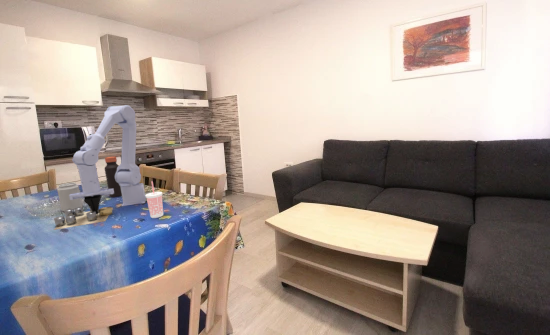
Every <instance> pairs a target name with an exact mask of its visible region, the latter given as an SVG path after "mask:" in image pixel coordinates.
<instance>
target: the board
mask: <svg viewBox="0 0 550 335" xmlns="http://www.w3.org/2000/svg"><path fill="white" fill-rule="evenodd" d="M111 208H112V210H113V209H114V207H111ZM83 212H84V215H82V216H78V217H76V221H77V223H76V224H74V225H67V223H66V225H64V226H61V227H56V226H55V228H54V229H53V231H55V230H61V229H66V228H75V227H79V226H85V225H91V224H97V223H103V222H107V219H108V218H109V216H110V215H108V216H100V215H99V213H98V214H96V216H97V220H95V221H90V222H89V221H88V219H87V215H86V213H88V212H90V210H89V211H83ZM65 222H66V219H65Z"/></svg>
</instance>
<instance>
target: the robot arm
mask: <svg viewBox="0 0 550 335" xmlns="http://www.w3.org/2000/svg"><path fill="white" fill-rule="evenodd" d="M103 114H104V116H103V118H102V120H101V122H100V124H99V125H98V127H97V129H96V131H95V133H92V134H90V135H87V137H86V140H85V142H84V144H82V146H80V148H79V149H80V150H77V151H76V152H75V153H74V154H73V157H72V158H71V160H72V162H73V164H74V165H76V167H77V169H78V174H79V178H80V185H81V188H82V191H80V193H75V194H70V195H69V197H70V200H73V199H79V198H81V199H83V198H84V199H83V201H84V203H85V204H86V205H87V206H88V207H90V208H91V210H92V211H96V214H98V213H99V209H100V203H101V201H102V200H101V199H102V197H103V196H105V195H106V196H107V195H109V194H114V189H108V188H102V189H101V186H100V179H99V175H98V174H99V173H98V170H97V165H96V164H97V163H98V162H99V153H100V152H101V150H102V148H103V147H104V145H105V143H106V138H105V137H106V136H107V134H108V133H109V132H110V131H111V129H112V128H113V127H114V125H115V124H116V125H117V126H120V128H122V134H121V136H122V138H121V158H120V159H121V161H120V164H118V165H119V166H118V167H117V172H116V174H115V180H116V182H117V183H119V185H120V187H121V193H122V196H121V198H122V204H121V207H124V206H130V205H132V206H133V205H138V204H140V205H141V204H145V203H146V201H147V198H146V196H145V195H146V191H145V185H144V183H143V182H141V180H142V174H141V172H140V171H141V169H140V166H138V165H137V164H136V152H137V150H136V147H137V145H136V143H137V122H136V111H135V110H134V108H133V107H132V106H131V105H128V104H125V105H124V104H123V105H115V106H113V105H111V106H108V107H107V109H106V110H105V111H104V113H103ZM140 182H141V183H140ZM90 208H89V209H90Z"/></svg>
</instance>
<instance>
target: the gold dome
mask: <svg viewBox="0 0 550 335" xmlns="http://www.w3.org/2000/svg"><path fill="white" fill-rule="evenodd" d="M112 208H113V207H112V206H103V207H101V208H100V207H99V215H100V216H108V215H109V216H110V215H112V214H113V209H112ZM109 216H108V217H109Z"/></svg>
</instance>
